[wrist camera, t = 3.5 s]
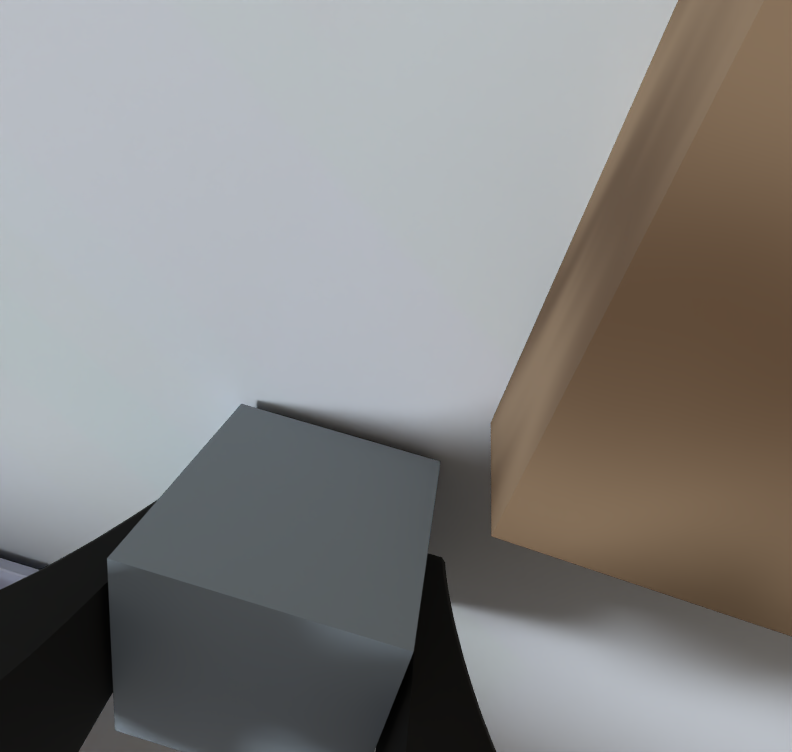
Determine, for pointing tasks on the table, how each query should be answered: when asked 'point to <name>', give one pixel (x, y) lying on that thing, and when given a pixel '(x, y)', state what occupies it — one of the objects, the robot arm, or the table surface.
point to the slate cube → (272, 592)
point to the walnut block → (672, 338)
